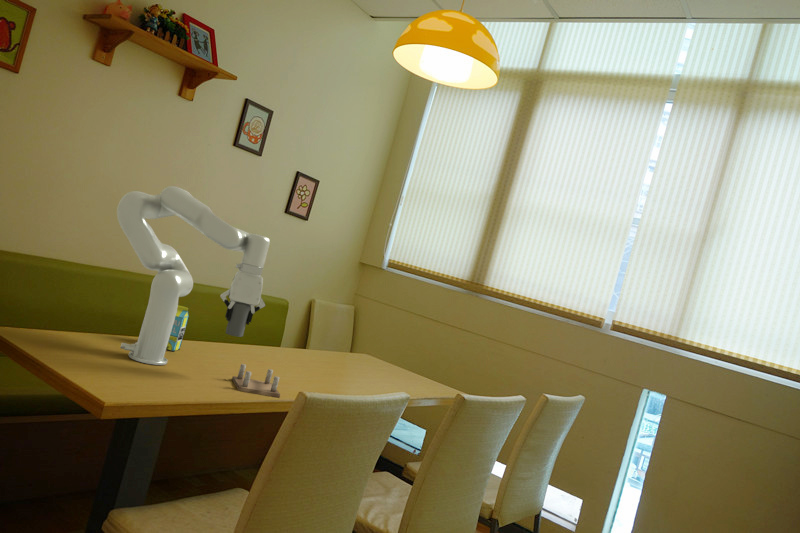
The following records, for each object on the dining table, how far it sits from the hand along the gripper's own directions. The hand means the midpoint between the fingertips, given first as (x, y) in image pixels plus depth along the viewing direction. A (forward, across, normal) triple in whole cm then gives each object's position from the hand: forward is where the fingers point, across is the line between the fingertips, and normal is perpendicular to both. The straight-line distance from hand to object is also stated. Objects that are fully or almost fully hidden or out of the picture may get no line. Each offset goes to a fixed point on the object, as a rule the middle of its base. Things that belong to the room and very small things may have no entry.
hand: (237, 321), depth 209 cm
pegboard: (+21, +11, -1) cm, 24 cm away
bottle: (+5, 0, 0) cm, 5 cm away
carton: (+20, -16, +37) cm, 45 cm away
